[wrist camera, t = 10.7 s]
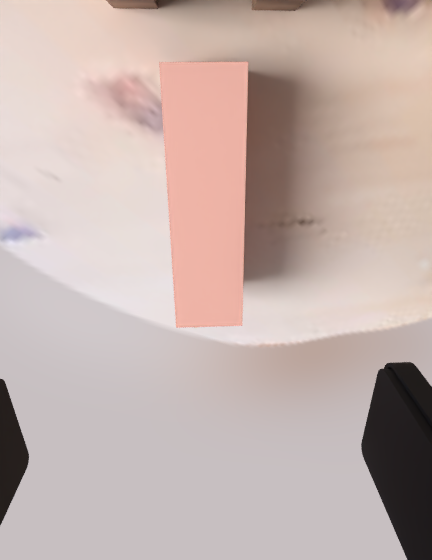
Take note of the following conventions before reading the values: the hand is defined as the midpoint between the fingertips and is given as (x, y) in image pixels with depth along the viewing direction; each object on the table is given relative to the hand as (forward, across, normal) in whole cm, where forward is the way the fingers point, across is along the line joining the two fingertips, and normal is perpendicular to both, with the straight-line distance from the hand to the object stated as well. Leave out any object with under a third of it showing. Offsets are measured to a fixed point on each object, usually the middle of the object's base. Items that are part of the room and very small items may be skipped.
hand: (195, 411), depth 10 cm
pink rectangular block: (+18, 0, -1) cm, 18 cm away
